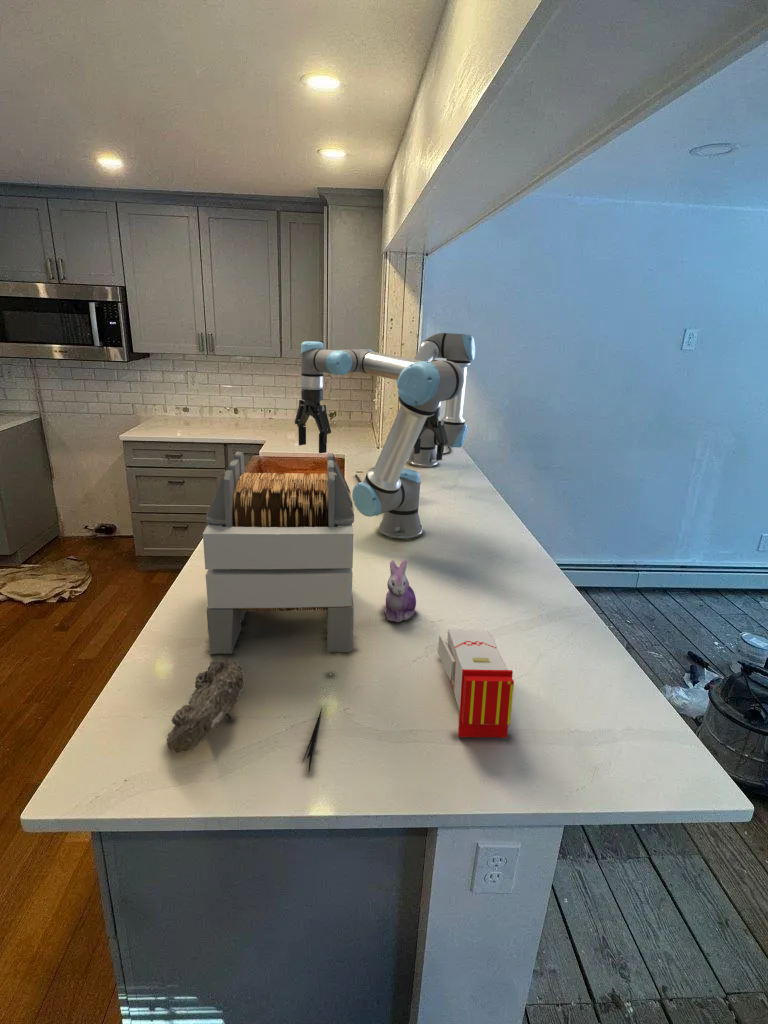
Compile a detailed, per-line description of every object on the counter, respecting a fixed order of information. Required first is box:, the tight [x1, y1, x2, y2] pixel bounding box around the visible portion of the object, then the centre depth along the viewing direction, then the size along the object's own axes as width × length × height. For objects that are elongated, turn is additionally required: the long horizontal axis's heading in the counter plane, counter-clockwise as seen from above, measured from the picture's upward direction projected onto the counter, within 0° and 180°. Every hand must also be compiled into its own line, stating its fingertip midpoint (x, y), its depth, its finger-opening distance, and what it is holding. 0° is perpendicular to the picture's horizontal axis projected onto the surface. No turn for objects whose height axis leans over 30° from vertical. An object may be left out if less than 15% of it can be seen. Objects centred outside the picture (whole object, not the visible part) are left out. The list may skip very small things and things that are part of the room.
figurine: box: [384, 558, 417, 623], centre depth 145 cm, size 9×10×15 cm
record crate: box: [202, 451, 355, 655], centre depth 137 cm, size 34×33×41 cm
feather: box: [301, 673, 332, 771], centre depth 108 cm, size 2×28×2 cm
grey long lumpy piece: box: [166, 658, 245, 754], centre depth 106 cm, size 22×10×15 cm
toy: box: [437, 628, 515, 738], centre depth 117 cm, size 12×13×30 cm
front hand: (312, 448), depth 202 cm, fingers open, 13 cm apart
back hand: (427, 456), depth 241 cm, fingers open, 13 cm apart
